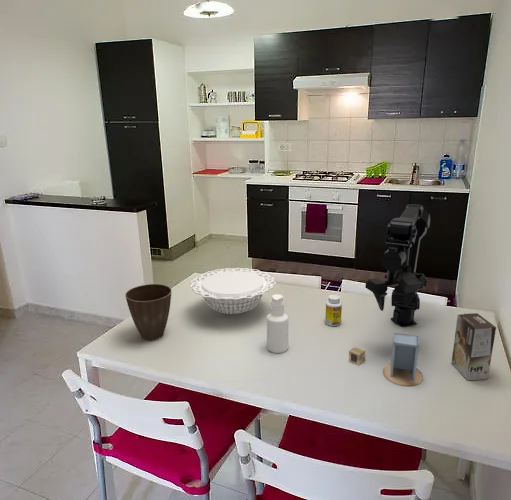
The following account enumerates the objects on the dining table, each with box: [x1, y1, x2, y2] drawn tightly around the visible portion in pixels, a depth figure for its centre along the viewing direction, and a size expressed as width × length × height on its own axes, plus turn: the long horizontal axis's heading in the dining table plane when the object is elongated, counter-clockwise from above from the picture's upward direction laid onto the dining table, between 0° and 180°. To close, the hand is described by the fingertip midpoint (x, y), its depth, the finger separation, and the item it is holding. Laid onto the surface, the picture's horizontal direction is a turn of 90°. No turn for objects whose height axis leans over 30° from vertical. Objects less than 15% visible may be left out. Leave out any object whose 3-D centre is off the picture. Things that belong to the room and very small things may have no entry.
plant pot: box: [124, 283, 172, 341], centre depth 142 cm, size 15×15×16 cm
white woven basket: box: [189, 267, 277, 315], centre depth 158 cm, size 32×32×13 cm
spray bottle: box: [266, 293, 289, 354], centre depth 132 cm, size 7×7×18 cm
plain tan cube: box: [348, 346, 366, 366], centre depth 127 cm, size 4×4×4 cm
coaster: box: [381, 363, 424, 387], centre depth 120 cm, size 11×11×1 cm
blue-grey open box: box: [390, 332, 419, 381], centre depth 118 cm, size 6×6×11 cm
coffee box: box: [451, 312, 497, 381], centre depth 119 cm, size 9×6×16 cm
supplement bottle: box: [324, 294, 343, 327], centre depth 149 cm, size 6×6×10 cm
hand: (394, 308), depth 132 cm, fingers open, 9 cm apart
